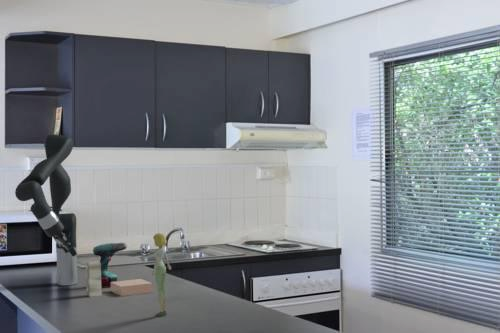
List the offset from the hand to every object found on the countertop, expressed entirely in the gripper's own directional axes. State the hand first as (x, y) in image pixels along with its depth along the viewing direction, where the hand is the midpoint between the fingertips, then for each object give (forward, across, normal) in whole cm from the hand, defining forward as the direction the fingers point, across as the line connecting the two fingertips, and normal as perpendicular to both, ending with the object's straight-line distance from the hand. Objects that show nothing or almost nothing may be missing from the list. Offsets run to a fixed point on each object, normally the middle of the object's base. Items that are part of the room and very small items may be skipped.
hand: (71, 253), depth 294 cm
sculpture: (+20, -57, -3) cm, 60 cm away
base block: (+29, -6, -11) cm, 31 cm away
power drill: (+29, +13, -9) cm, 33 cm away
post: (+20, -3, +3) cm, 21 cm away
